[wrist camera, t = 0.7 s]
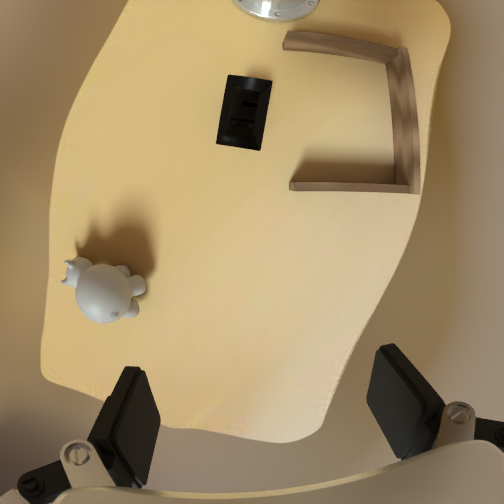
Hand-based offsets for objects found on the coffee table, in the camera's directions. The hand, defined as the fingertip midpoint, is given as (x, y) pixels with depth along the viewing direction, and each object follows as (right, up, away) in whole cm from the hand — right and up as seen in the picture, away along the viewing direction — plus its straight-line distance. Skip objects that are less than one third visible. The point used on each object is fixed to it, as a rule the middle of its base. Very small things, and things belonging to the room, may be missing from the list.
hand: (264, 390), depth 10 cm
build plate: (-1, +23, +23) cm, 32 cm away
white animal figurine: (-20, +2, +26) cm, 33 cm away
